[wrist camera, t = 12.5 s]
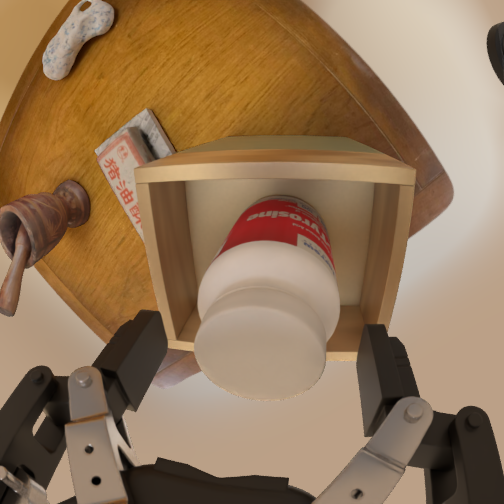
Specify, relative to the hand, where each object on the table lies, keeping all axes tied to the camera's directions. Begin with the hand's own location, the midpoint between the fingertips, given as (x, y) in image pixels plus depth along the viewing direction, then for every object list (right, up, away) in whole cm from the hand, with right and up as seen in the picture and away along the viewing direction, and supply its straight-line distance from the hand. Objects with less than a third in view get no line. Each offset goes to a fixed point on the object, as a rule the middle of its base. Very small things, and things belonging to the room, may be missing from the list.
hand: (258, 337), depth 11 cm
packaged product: (-13, +12, +26) cm, 31 cm away
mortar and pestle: (-27, +9, +30) cm, 41 cm away
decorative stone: (-23, +32, +18) cm, 44 cm away
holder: (+2, +4, +9) cm, 10 cm away
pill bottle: (+2, +4, +9) cm, 10 cm away
